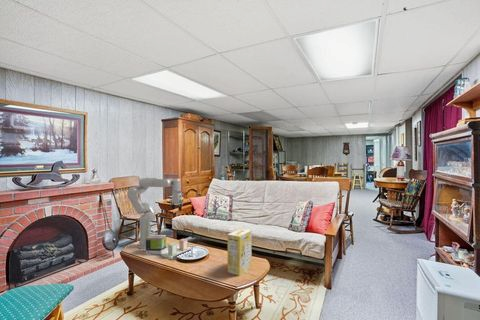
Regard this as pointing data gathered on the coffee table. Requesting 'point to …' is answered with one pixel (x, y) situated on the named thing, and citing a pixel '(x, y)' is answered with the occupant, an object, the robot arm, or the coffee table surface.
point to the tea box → (155, 244)
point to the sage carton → (172, 249)
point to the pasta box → (239, 251)
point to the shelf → (165, 254)
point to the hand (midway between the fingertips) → (176, 209)
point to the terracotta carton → (183, 244)
